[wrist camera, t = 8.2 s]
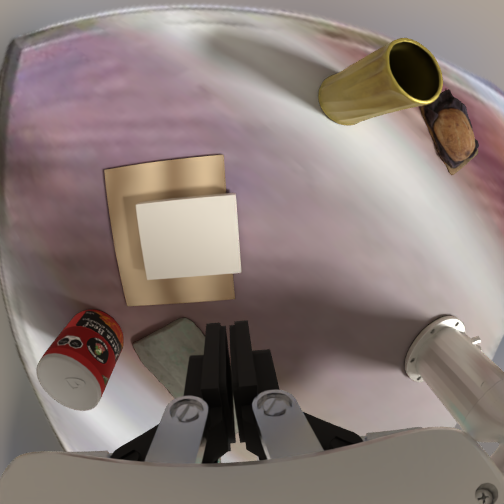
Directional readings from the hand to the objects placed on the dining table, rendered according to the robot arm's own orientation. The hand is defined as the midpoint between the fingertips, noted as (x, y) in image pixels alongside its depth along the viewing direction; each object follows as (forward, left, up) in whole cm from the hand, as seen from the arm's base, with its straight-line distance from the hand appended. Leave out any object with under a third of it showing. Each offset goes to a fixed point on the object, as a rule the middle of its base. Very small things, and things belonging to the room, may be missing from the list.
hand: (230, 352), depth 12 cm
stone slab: (+5, +21, -22) cm, 31 cm away
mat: (+6, 0, -22) cm, 22 cm away
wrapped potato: (-30, -12, -22) cm, 39 cm away
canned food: (+18, +12, -22) cm, 31 cm away
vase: (-14, -14, -22) cm, 29 cm away
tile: (-1, 0, -20) cm, 20 cm away
